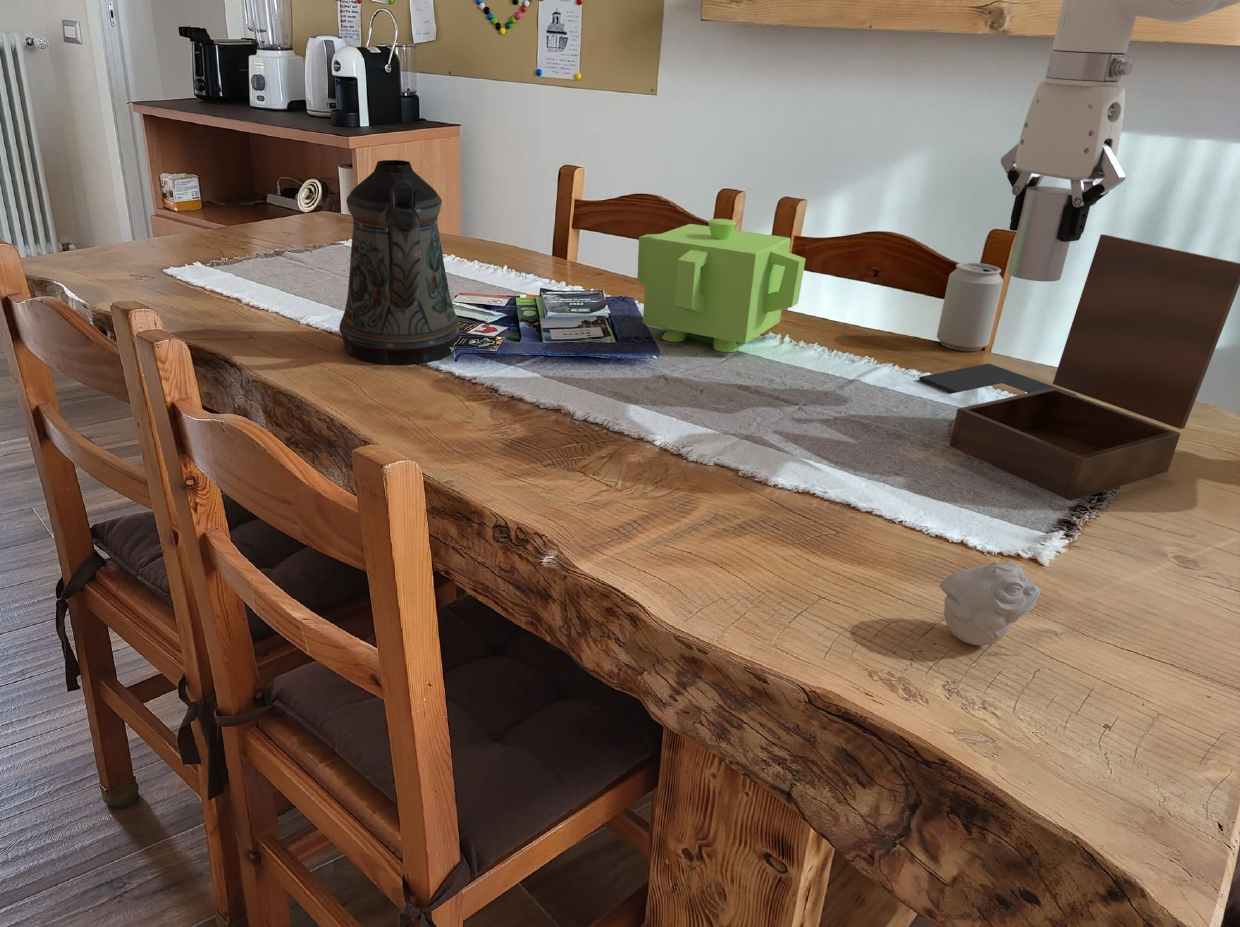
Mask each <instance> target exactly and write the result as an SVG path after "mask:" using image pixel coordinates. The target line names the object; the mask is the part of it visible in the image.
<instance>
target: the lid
mask: <svg viewBox="0 0 1240 927" xmlns="http://www.w3.org/2000/svg"><path fill="white" fill-rule="evenodd" d="M1239 288H1240V262H1237V261H1233V260H1228V259H1222V258H1218V257H1213V256H1208V255H1204V254H1199V253H1195V252H1190V251H1185V250H1180V249H1175V248H1171V247H1167V246H1166V247H1165V246H1160V245H1156V244H1152V243H1147V242H1142V241H1137V240H1133V239H1128V238H1124V237H1118V236H1114V235H1108V234H1102V233H1100V235H1099V239H1098V242H1097V245H1096V248H1095V250H1094V254H1093V257H1092V261H1091V264H1090V266H1089V269H1088V272H1087V275H1086V279H1085V281H1084V285H1083V287H1082V291H1081V294H1080V297H1079V300H1078V303H1077V307H1076V309H1075V313H1074V315H1073V319H1072V322H1071V325H1070V329H1069V331H1068V334H1067V338H1066V341H1065V345H1064V347H1063V350H1062V354H1061V357H1060V359H1059V363H1058V366H1057V369H1056V372H1055V376H1054V378H1053V381H1052V385H1053V386H1057V387H1060V388H1061V389H1064V390H1067V391H1071V392H1074V393H1077V394H1079V395H1082V396H1086V397H1089V398H1090V399H1094V400H1097V401H1099V402H1102V403H1105V404H1107V405H1111V406H1113V407H1116V408H1120V409H1122V410H1125V411H1127V412H1130V413H1133V414H1136V415H1139V416H1142V417H1144V418H1147V419H1150V420H1153V421H1156V422H1158V423H1161V424H1165V425H1168V426H1170V427H1173V428H1176V429H1178V430H1183V429H1185V428H1186V425H1187V423H1188V420H1189V417H1190V415H1191V412H1192V410H1193V407H1194V404H1195V402H1196V399H1197V397H1198V394H1199V392H1200V389H1201V387H1202V384H1203V381H1204V379H1205V376H1206V373H1207V371H1208V368H1209V366H1210V363H1211V361H1212V358H1213V355H1214V352H1215V350H1216V347H1217V345H1218V342H1219V340H1220V337H1221V335H1222V332H1223V329H1224V327H1225V324H1226V321H1227V319H1228V317H1229V314H1230V312H1231V308H1232V306H1233V303H1234V301H1235V299H1236V295H1237V293H1238V290H1239Z"/></svg>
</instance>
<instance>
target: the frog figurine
mask: <svg viewBox="0 0 1240 927" xmlns="http://www.w3.org/2000/svg"><path fill="white" fill-rule="evenodd" d="M939 588H940V590H941V591H942V592H943V593H944V594H945V595H946V597H944V603H943V605H944V608H943V614H944V620H945V624H946V626H947V628H948V629H949V630H950V632H951V634H953V635H954V636H955V638H957V639H958V640H960V641H962V642H964V643H966V644H969V645H973V646H987V645H988V646H989V645H992V644H994V643H997V642H998V641H1000V640H1002V639H1003V638H1004V637H1005V636H1006V635H1007V634H1008V633H1009V631H1010V630H1011V628H1012V625H1013V624H1015V623H1017V622H1018V621H1019V620H1020V619H1021V618H1023V617H1024V616H1025V615H1027V614H1028V612H1030V611H1031V610H1033V609H1034V607H1035V606H1036V602H1037V599H1038V598H1039V597H1040V595H1041V588H1040V586H1038V585H1037V584H1036V583H1035V581H1034V580H1033V579H1032V578H1030V577H1026V576H1025V573H1024V571H1023V568H1022V567H1021V566H1020V565H1019V564H1018V563H1016V562H1014V561H1013V562H1012V561H1004V562H998V561H993V562H990V563H989V564H988V565H979V566H975V567H969V568H965V569H962V570H960V571H959V570H958V571H957V572H954V573H952V574H950V575H949V576H947V577H945V578H944V579H943V580H942V581H941V583H940V584H939Z"/></svg>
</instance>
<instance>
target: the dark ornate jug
mask: <svg viewBox="0 0 1240 927" xmlns="http://www.w3.org/2000/svg"><path fill="white" fill-rule="evenodd" d="M442 205H443V200H442V198H441V196H440V195H439V193H438V192H437V190H436V189H435V188H433V187H432V186H431V185H430V184H429V183H428V182H427V181H425V180H424V179H423V178H422V177H421V176H420V175H419V174H418V173H417V172H415V171H414V169H413V167H412V164H411V162H410V161H409V160H408V161H407V160H403V159H402V160H401V159H384V160H378V161H377V162H376V165H375V168H374V169H373V171H372V172H371V173H370V174H369V175H368V176H367V177H366V178H364V179H363V180H362V181H360V183H358V184H357V185H356V186H355V187H354V188H353V189H352V190H351V191H350V193H349V194H348V196H347V197H346V206H347V209H348V212H349V213H350V215H351V216H352V234H351V248H350V260H349V276H348V286H347V297H346V303H345V307H344V308H345V309H344V311H343V315H342V317H341V320H340V323H339V327H338V330H339V332H340V335H341V338H342V341H343V345H344V349H345V351H346V353H347V354H348V356H350V357H351V358H354V359H355V360H359V361H361V362H362V361H363V362H367V363H371V364H376V365H391V366H392V365H393V366H394V365H396V366H408V365H420V364H426V363H431V362H436V361H440V360H443V359H445V358H448V357H449V356H451V355H453V354H454V353H455V351H454V350H453V351H452V352H451V349H450V348H449V347H450V346H451V345H452V344H453V343H454V342H455V341H456V340H457V338H458V339H459V335H460V330H461V326H460V321H459V318H458V315H457V314H456V311H455V308H454V305H453V300H452V297H451V292H450V289H449V283H448V277H447V273H446V267H445V262H444V261H445V260H444V254H443V249H442V248H443V247H442V243H441V238H440V231H439V225H438V217H439V215H440V212H441V209H442V208H441V207H442Z"/></svg>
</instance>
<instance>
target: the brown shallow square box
mask: <svg viewBox="0 0 1240 927" xmlns="http://www.w3.org/2000/svg"><path fill="white" fill-rule="evenodd" d="M1062 390H1063V389H1062ZM1062 390H1059V389H1056V388H1050V389H1045V390H1041V391H1036V392H1031V393H1027V392H1026V393H1023V394H1018V395H1013V396H1009V397H1005V398H1000V399H995V400H990V401H985V402H982V403H977V404H973V405H968V406H963V407H958V408H957V409H956V410H957V411H956V414H955V419H954V423H953V428H952V432H951V436H950V441H949V448H953V449H955V450H956V451H959V452H960V453H961V452H962V453H964V454H966V455H968V456H970V457H973V458H975V459H977V460H980V461H982V462H984V463H986V464H988V465H990V466H992V467H995V468H998V469H999V470H1002V471H1004V472H1006V473H1008V474H1011V475H1012V476H1014V477H1017V478H1020V479H1021V480H1024V481H1026V482H1028V483H1030V484H1032V485H1035V486H1037V487H1039V488H1042V489H1044V490H1045V491H1048V492H1051V493H1053V494H1054V495H1057V496H1060V497H1062V498H1063V499H1066V500H1068V501H1070V502H1072V501H1075V500H1079V499H1082V498H1085V497H1089V496H1091V495H1095V494H1098V493H1102V492H1106V491H1108V490H1112V489H1115V488H1118V487H1121V486H1125V485H1128V484H1131V483H1136V482H1138V481H1142V480H1145V479H1149V478H1151V477H1154V476H1159V475H1161V474H1164V473H1168V471H1169V469H1170V466H1171V463H1172V461H1173V457H1174V454H1175V451H1176V448H1177V446H1178V442H1179V439H1180V436H1181V432H1179V431H1177V430H1174V429H1171V428H1168V427H1166V426H1162V425H1159V424H1157V423H1155V422H1151V421H1150V420H1145V419H1143V418H1141V417H1137V416H1134V415H1131V414H1129V413H1126V412H1123V411H1121V410H1118V409H1115V408H1112V407H1109V406H1106V405H1103V404H1101V403H1098V402H1095V401H1092V400H1089V399H1087V398H1084V397H1082V396H1079V395H1077V394H1076V395H1073V394H1070V393H1067V392H1064V391H1062Z"/></svg>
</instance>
